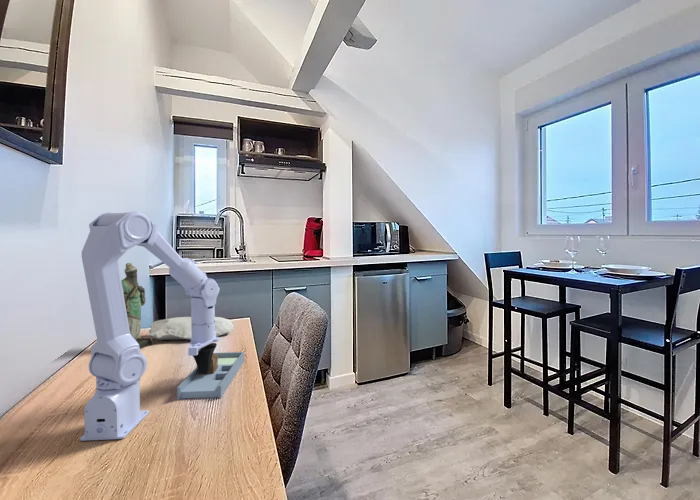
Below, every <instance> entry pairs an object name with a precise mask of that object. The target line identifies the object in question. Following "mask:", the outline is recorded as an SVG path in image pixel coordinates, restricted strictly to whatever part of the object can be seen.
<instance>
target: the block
mask: <svg viewBox="0 0 700 500" xmlns="http://www.w3.org/2000/svg"><path fill="white" fill-rule="evenodd" d="M217 368H218V354H213V355H212V359H211V363H210V368H209V371H208V373H201V374H214V372H215V371H216V370H217ZM198 374H200V373H199V371H198Z"/></svg>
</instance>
